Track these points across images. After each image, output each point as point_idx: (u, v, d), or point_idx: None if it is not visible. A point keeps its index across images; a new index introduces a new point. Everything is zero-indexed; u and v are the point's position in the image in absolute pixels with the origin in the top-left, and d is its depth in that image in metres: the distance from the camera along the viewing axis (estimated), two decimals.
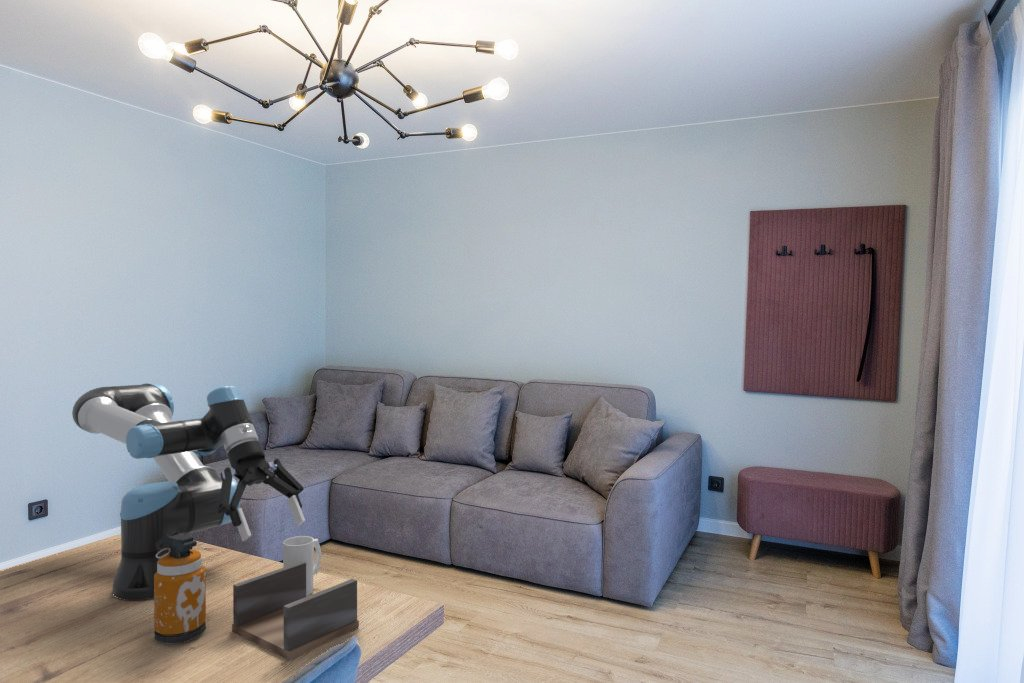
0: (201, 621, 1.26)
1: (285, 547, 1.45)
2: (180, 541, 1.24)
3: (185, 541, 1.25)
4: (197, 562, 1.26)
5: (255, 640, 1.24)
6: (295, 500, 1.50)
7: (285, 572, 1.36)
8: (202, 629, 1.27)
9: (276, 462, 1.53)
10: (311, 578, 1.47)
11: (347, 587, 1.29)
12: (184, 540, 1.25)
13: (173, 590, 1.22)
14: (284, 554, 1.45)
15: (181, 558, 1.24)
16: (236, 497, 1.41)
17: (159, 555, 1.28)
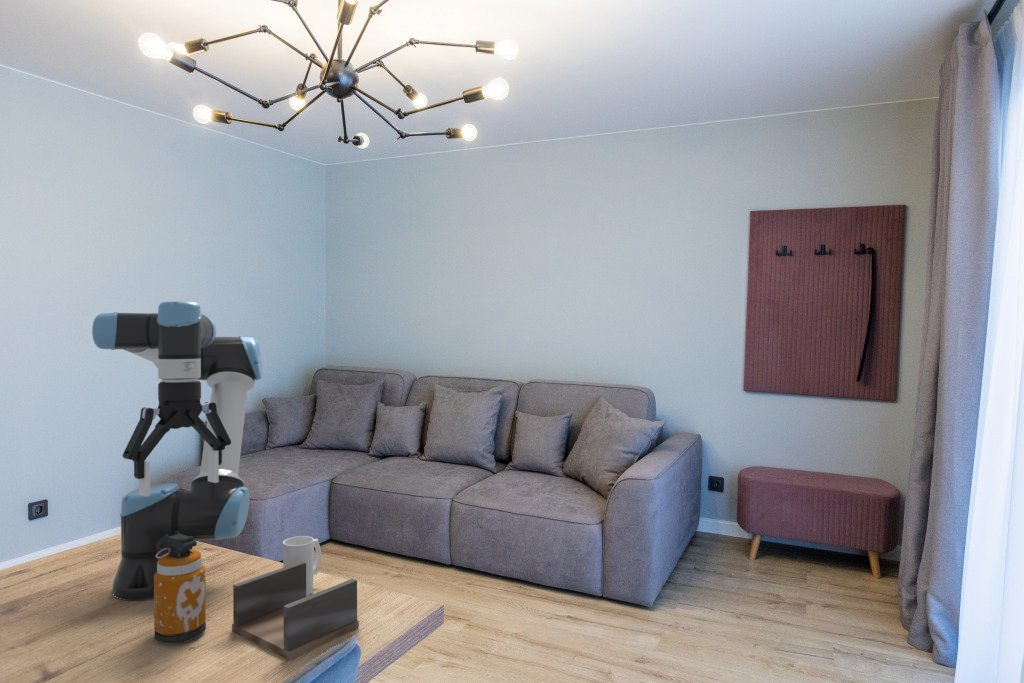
0: (201, 621, 1.26)
1: (285, 547, 1.45)
2: (180, 541, 1.24)
3: (185, 541, 1.25)
4: (197, 562, 1.26)
5: (255, 640, 1.24)
6: (216, 457, 1.32)
7: (285, 572, 1.36)
8: (202, 629, 1.27)
9: (211, 407, 1.31)
10: (311, 578, 1.47)
11: (347, 587, 1.29)
12: (184, 540, 1.25)
13: (173, 590, 1.22)
14: (284, 554, 1.45)
15: (181, 558, 1.24)
16: (148, 447, 1.21)
17: (159, 555, 1.28)
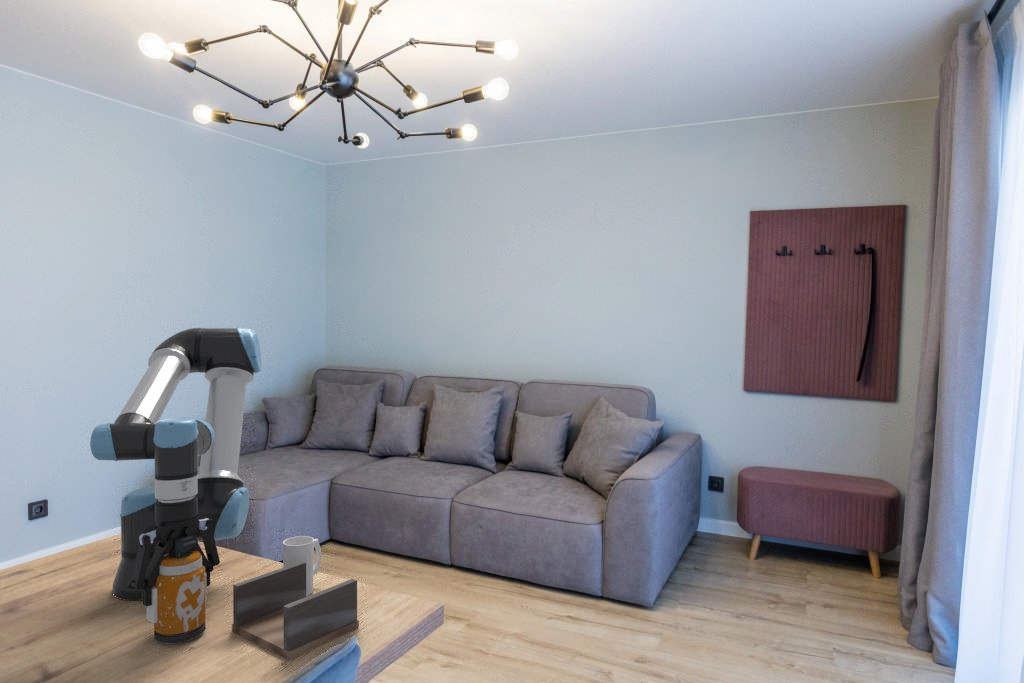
0: (201, 621, 1.26)
1: (285, 547, 1.45)
2: (180, 541, 1.24)
3: (185, 541, 1.25)
4: (197, 562, 1.26)
5: (255, 640, 1.24)
6: None
7: (285, 572, 1.36)
8: (202, 629, 1.27)
9: (208, 524, 1.31)
10: (311, 578, 1.47)
11: (347, 587, 1.29)
12: (184, 540, 1.25)
13: (172, 590, 1.22)
14: (284, 554, 1.45)
15: (181, 558, 1.24)
16: (153, 574, 1.22)
17: None
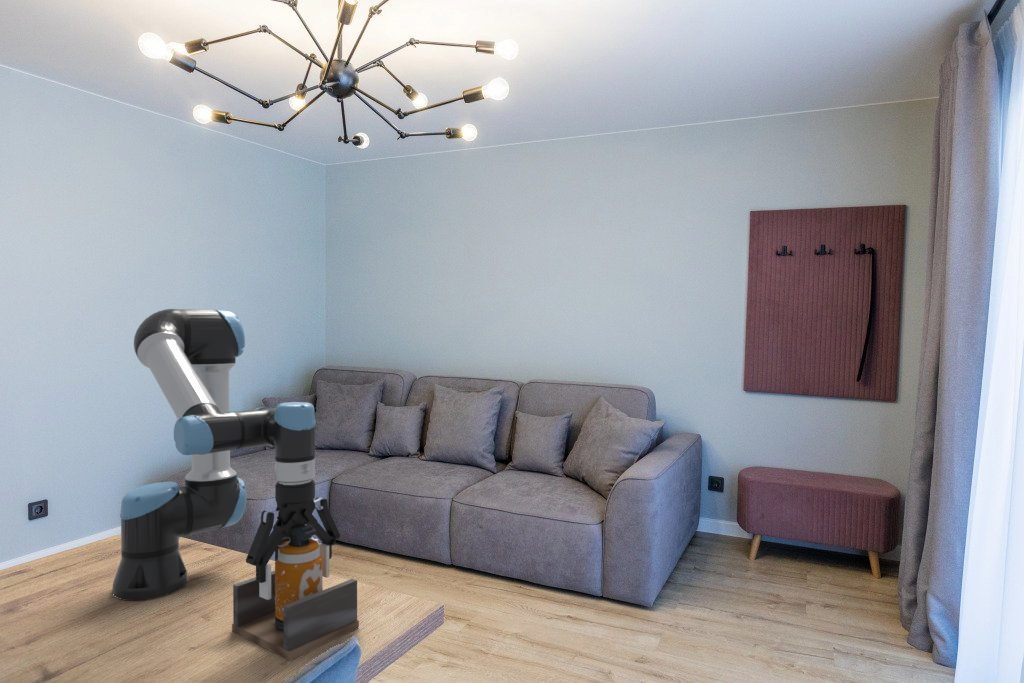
0: None
1: None
2: (301, 530, 1.27)
3: (306, 530, 1.27)
4: (317, 550, 1.28)
5: (255, 640, 1.24)
6: (327, 552, 1.34)
7: None
8: None
9: (323, 503, 1.33)
10: None
11: (347, 587, 1.29)
12: (305, 529, 1.27)
13: (296, 578, 1.24)
14: None
15: (302, 547, 1.27)
16: (269, 551, 1.23)
17: None
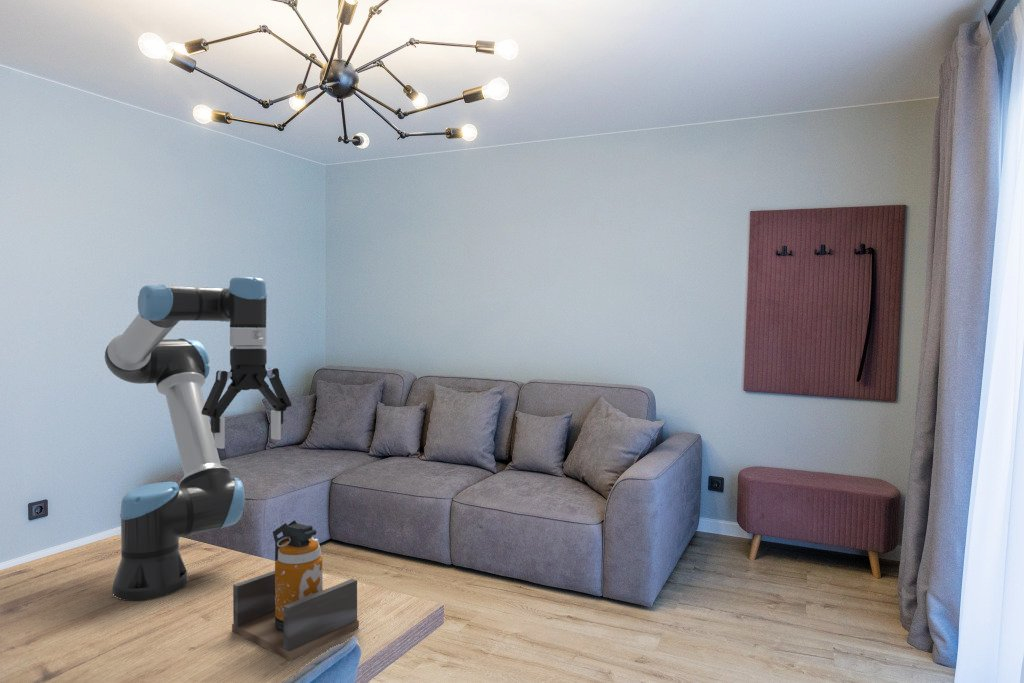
0: None
1: None
2: (301, 530, 1.27)
3: (306, 530, 1.27)
4: (317, 551, 1.28)
5: (255, 640, 1.24)
6: (278, 417, 1.48)
7: None
8: None
9: (275, 372, 1.47)
10: None
11: (347, 587, 1.29)
12: (305, 529, 1.27)
13: (296, 578, 1.24)
14: None
15: (302, 547, 1.27)
16: (223, 405, 1.37)
17: (277, 544, 1.30)
